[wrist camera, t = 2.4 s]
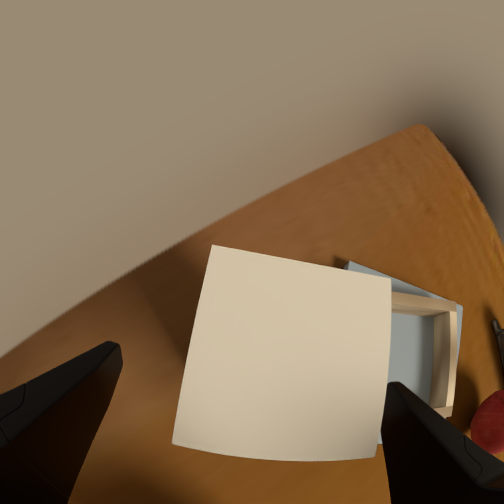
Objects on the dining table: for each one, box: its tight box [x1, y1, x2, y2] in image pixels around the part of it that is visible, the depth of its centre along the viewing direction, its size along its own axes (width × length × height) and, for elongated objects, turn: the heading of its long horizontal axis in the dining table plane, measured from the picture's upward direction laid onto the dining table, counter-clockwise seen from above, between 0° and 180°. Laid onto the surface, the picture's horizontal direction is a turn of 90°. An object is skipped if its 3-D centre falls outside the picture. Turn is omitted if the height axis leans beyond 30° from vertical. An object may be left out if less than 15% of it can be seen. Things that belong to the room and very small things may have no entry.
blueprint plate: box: [343, 261, 463, 444], centre depth 16 cm, size 12×12×1 cm
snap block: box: [172, 245, 391, 461], centre depth 10 cm, size 4×4×12 cm
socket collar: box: [391, 291, 457, 418], centre depth 15 cm, size 9×9×2 cm
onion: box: [470, 389, 504, 454], centre depth 11 cm, size 6×6×8 cm
